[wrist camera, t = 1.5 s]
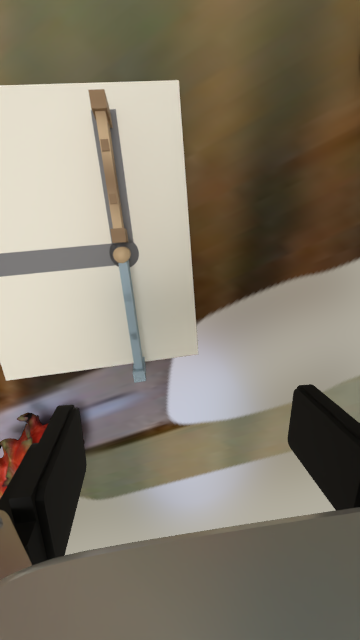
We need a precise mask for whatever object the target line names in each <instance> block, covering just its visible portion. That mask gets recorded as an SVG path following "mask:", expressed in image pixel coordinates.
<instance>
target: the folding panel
mask: <svg viewBox="0 0 360 640" xmlns="http://www.w3.org/2000/svg"><path fill="white" fill-rule="evenodd" d="M130 256H131V252H130V250H129V249H128V248H127V247H118V248H116V249H115V250H114V252H113V257H114V259H115V260H116V261H117V262H118V264H119V270H120V277H121V283H122V290H123V296H124V303H125V309H126V316H127V322H128V329H129V335H130V342H131V348H132V355H133V361H134V364H133V377H134V383H135V382H141V381H146V365H145V357H142V350H141V343H140V336H139V329H138V322H137V315H136V308H135V301H134V294H133V287H132V280H131V273H130V266H129V260H128V259H129V258H130ZM127 260H128V261H127Z"/></svg>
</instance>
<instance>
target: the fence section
mask: <svg viewBox="0 0 360 640" xmlns="http://www.w3.org/2000/svg"><path fill="white" fill-rule="evenodd" d="M88 91H89V97H90V104H91V109H92V112H93V114H94V117H95V119H96V122H97V128H98V135H99V141H100V147H101V154H102V160H103V167H104V173H105V180H106V186H107V193H108V199H109V206H110V212H111V219H112V225H113V229H110V231H111V237H112V243H123V242H128V235H127V229H125V228H124V224H123V217H122V210H121V203H120V196H119V189H118V182H117V175H116V167H115V160H114V153H113V146H112V139H111V132H110V128H113V127H112V120H111V113H110V109H109V105H108V101H107V97H106V93H105V90H104V89H95V90H88Z"/></svg>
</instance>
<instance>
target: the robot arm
mask: <svg viewBox="0 0 360 640" xmlns="http://www.w3.org/2000/svg"><path fill="white" fill-rule="evenodd" d="M288 444H289V446H290V448H291V449H292V451H293V452H294V453H295V455H296V456H297V458H298V459H299V460H300V462H301V463H302V464H303V466H304V467H305V469H306V470H307V471H308V473H309V474H310V475H311V477H312V478H313V480H314V481H315V482H316V484H317V485H318V486H319V488H320V489H321V491H322V492H323V493H324V495H325V496H326V497H327V499H328V500H329V502H330V503H331V504H332V505H333V507H334V508H335V509H336V511H330V512H323V513H317V514H311V515H303V516H297V517H291V518H283V519H277V520H271V521H264V522H257V523H251V524H244V525H239V526H232V527H225V528H219V529H212V530H207V531H200V532H194V533H187V534H182V535H175V536H169V537H163V538H157V539H150V540H144V541H138V542H132V543H127V544H121V545H116V546H110V547H105V548H99V549H93V550H88V551H83V552H78V553H74V554H70V555H65V551H66V547H67V543H68V539H69V535H70V531H71V527H72V523H73V519H74V516H75V511H76V508H77V504H78V499H79V496H80V492H81V488H82V484H83V480H84V476H85V472H86V456H85V449H84V442H83V434H82V427H81V420H80V412H79V409H78V408H74V405H64V406H58V407H57V408H56V410H55V412H54V414H53V416H52V418H51V419H50V421H49V423H48V425H47V427H46V429H45V431H44V433H43V435H42V437H41V438H40V440H39V442H38V443H33V444H32V445H31V446H30V447H29V449H28V450H27V452H26V454H25V456H24V457H23V459H22V461H21V463H20V465H19V466H18V468H17V470H16V472H15V474H14V475H13V477H12V479H11V481H10V482H9V484H8V486H7V488H6V490H5V491H4V493H3V495H2V497H1V499H0V640H360V423H359V422H357V421H356V420H355V419H354V418H352V417H351V416H350V415H349V414H348V413H346V412H345V411H344V410H343V409H342V408H340V407H339V406H338V405H337V404H336V403H334V402H333V401H332V400H331V399H329V398H328V397H327V396H326V395H325V394H323V393H322V392H321V391H320V390H318V389H317V388H316V387H315V386H314V385H299V386H298V387H297V389H295V390H294V394H293V401H292V409H291V417H290V425H289V432H288ZM64 555H65V556H64Z"/></svg>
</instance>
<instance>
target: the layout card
mask: <svg viewBox="0 0 360 640" xmlns="http://www.w3.org/2000/svg"><path fill="white" fill-rule="evenodd" d="M95 89H104V90H105V93H106V97H107V101H108V105H109V109H110V113H111V120H112V127H113V128H110V132H111V139H112V146H113V153H114V160H115V167H116V175H117V182H118V189H119V196H120V203H121V210H122V217H123V224H124V228H125V229H127V235H128V242H123V243H112V237H111V231H110V229H113V225H112V219H111V212H110V206H109V199H108V193H107V186H106V180H105V173H104V167H103V160H102V154H101V147H100V141H99V135H98V128H97V122H96V119H95V117H94V114H93V112H92V109H91V104H90V97H89V91H88V90H95ZM118 247H127V248H128V249H129V250H130V252H131V256H130V258H129V259H128V260H129V266H130V273H131V280H132V287H133V294H134V301H135V308H136V315H137V322H138V329H139V336H140V343H141V350H142V357H145V362H146V361H153V360H161V359H168V358H175V357H182V356H190V355H197V354H198V343H197V330H196V315H195V301H194V287H193V273H192V259H191V246H190V232H189V218H188V204H187V190H186V176H185V162H184V148H183V134H182V121H181V107H180V93H179V80H174V81H140V82H105V83H71V84H37V85H3V86H0V363H1V366H2V369H3V372H4V375H5V378H6V381H7V380H14V379H22V378H29V377H36V376H44V375H51V374H58V373H65V372H73V371H80V370H87V369H95V368H102V367H109V366H117V365H124V364H131V363H134V361H133V355H132V348H131V342H130V335H129V329H128V322H127V316H126V309H125V303H124V296H123V290H122V283H121V277H120V270H119V264H118V262H117V261H116V260H115V259H114V257H113V252H114V250H115V249H116V248H118ZM128 260H127V261H128Z"/></svg>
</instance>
